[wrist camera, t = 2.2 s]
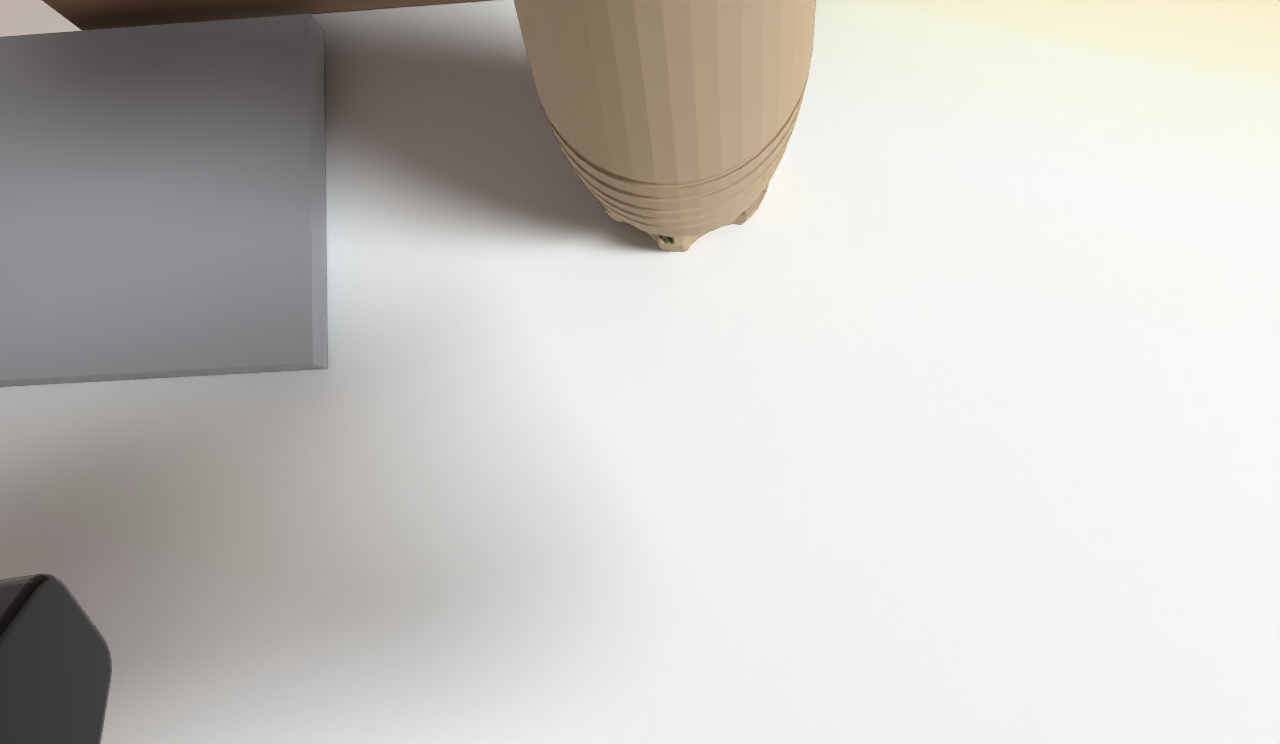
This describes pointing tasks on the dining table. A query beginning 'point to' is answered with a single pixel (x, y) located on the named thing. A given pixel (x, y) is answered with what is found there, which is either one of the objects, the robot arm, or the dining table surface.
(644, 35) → the handle
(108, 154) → the end pad
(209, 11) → the walnut fence
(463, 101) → the dining table surface
